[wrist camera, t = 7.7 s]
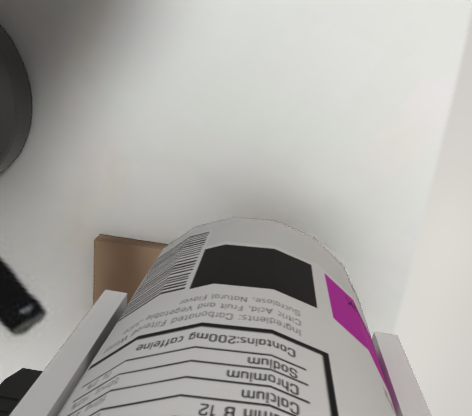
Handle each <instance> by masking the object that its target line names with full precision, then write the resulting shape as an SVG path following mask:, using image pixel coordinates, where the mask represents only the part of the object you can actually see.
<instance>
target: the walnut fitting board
mask: <svg viewBox="0 0 472 416" xmlns="http://www.w3.org/2000/svg"><path fill="white" fill-rule="evenodd" d="M166 246H168V244H161V243H155V242H148V241H141V240H135V239H128V238H122V237H115V236H108V235H102V234H100V235H99V236H98V237H97V238H96V239H95V240H94V292H93V305H94V304H95V303H96V301H97V300H98V299H99V297H100V296H101V295H102V294H103V292H104V291H105V290H111V291H117V292H124V293H127V305H128V303H129V301H130V300H131V298H132V297H133V295H134V293H135V292H136V290H137V289H138V287H139V285H140V284H141V282H142V281H143V279H144V278H145V276H146V274H147V273H148V271H149V270H150V268H151V267H152V265H153V264H154V262H155V261H156V259H157V258H158V256H159V255H160V253H161V252H162V250H163V249H164V248H165V247H166Z"/></svg>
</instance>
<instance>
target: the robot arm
mask: <svg viewBox="0 0 472 416" xmlns="http://www.w3.org/2000/svg"><path fill="white" fill-rule="evenodd" d="M31 114H32V100H31V91H30V85H29V80H28V77H27V73H26V70H25V67H24V64H23V62H22V60H21V57H20V55H19V53H18V51H17V49H16V47H15V46H14V44H13V42H12V41H11V39H10V37H9V36H8V34H7V33H6V32H5V30H4V29H3V28H2V27H1V25H0V173H1V172H3V171H4V170H5V169H6V168H7V167H8V166H10V164H11V163H12V162H13V161H14V160H15V159H16V157H17V156H18V154H19V153H20V151H21V149H22V147H23V146H24V143H25V141H26V138H27V135H28V132H29V128H30V123H31ZM126 306H127V293H124V292H117V291H111V290H105V291H104V292H103V294H102V295H101V296H100V297H99V299H98V300H97V301H96V303H95V304H94V305H93V307H92V308H91V309H90V311H89V312H88V313H87V314H86V316H85V317H84V318H83V320H82V321H81V322H80V324H79V325H78V326H77V328H76V329H75V330H74V332H73V333H72V334H71V335H70V337H69V338H68V339H67V341H66V342H65V343H64V345H63V346H62V347H61V349H60V350H59V351H58V352H57V354H56V355H55V356H54V358H53V359H52V360H51V362H50V363H49V364H48V366H47V367H46V368H45V369H44V371H37V370H31V369H25V368H22V369H21V370H19V371H17V372H16V373H14V374H13V375H11V376H10V377H8V378H6V379H5V380H4V381H3V382H2V383H1V384H0V416H58V415H59V413H60V412H61V410H62V408H63V407H64V405H65V404H66V402H67V400H68V399H69V397H70V396H71V394H72V392H73V391H74V389H75V388H76V386H77V384H78V383H79V381H80V380H81V378H82V376H83V375H84V373H85V372H86V370H87V369H88V367H89V365H90V364H91V362H92V361H93V359H94V357H95V356H96V354H97V353H98V351H99V349H100V348H101V346H102V345H103V343H104V341H105V340H106V338H107V337H108V335H109V333H110V332H111V330H112V329H113V327H114V325H115V324H116V322H117V321H118V319H119V317H120V316H121V314H122V313H123V311H124V309H125V308H126ZM372 342H373V345H374V348H375V351H376V354H377V357H378V360H379V363H380V366H381V369H382V372H383V375H384V378H385V382H386V385H387V388H388V391H389V394H390V397H391V400H392V403H393V406H394V409H395V412H396V415H397V416H431V413H430V411H429V409H428V406H427V404H426V401H425V399H424V397H423V394H422V392H421V390H420V387H419V385H418V383H417V380H416V378H415V376H414V373H413V371H412V368H411V366H410V364H409V362H408V359H407V357H406V354H405V352H404V350H403V348H402V345H401V343H400V340H399V338H398V336H397V335H392V334H386V333H379V332H374V334H373V338H372Z"/></svg>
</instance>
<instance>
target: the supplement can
mask: <svg viewBox="0 0 472 416" xmlns="http://www.w3.org/2000/svg"><path fill="white" fill-rule="evenodd" d="M58 416H397V415H396V412H395V409H394V406H393V403H392V400H391V397H390V394H389V391H388V388H387V385H386V382H385V378H384V375H383V372H382V369H381V366H380V363H379V360H378V357H377V354H376V351H375V348H374V345H373V342H372V339H371V336H370V333H369V330H368V326H367V323H366V320H365V317H364V314H363V311H362V308H361V305H360V302H359V299H358V297H357V294H356V292H355V290H354V288H353V286H352V284H351V282H350V280H349V277H348V275H347V273H346V271H345V269H344V267H343V265H342V264H341V263H340V262H339V261H338V260H337V259H336V258H335V257H334V256H333V255H332V254H331V253H330V252H329V251H327V250H326V249H325V248H324V247H323V246H322V245H321V244H320V243H319V242H318V241H317V240H316V239H315V238H314V237H311V236H309V235H307V234H305V233H302V232H300V231H298V230H296V229H293V228H291V227H289V226H286V225H284V224H282V223H280V222H277V221H273V220H261V219H250V218H238V217H232V218H228V219H224V220H220V221H217V222H213V223H209V224H205V225H201V226H197V227H194V228H193V229H191V230H190V231H188V232H187V233H185V234H184V235H182V236H181V237H180V238H178V239H177V240H175V241H174V242H172V243H171V244H169V245H168V246H166V247H165V248H164V249H163V250H162V252H161V253H160V255H159V256H158V258H157V259H156V261H155V262H154V264H153V265H152V267H151V268H150V270H149V271H148V273H147V274H146V276H145V278H144V279H143V281H142V282H141V284H140V285H139V287H138V289H137V290H136V292H135V293H134V295H133V297H132V298H131V300H130V301H129V303H128V305H127V306H126V308H125V309H124V311H123V313H122V314H121V316H120V317H119V319H118V321H117V322H116V324H115V325H114V327H113V329H112V330H111V332H110V333H109V335H108V337H107V338H106V340H105V341H104V343H103V345H102V346H101V348H100V349H99V351H98V353H97V354H96V356H95V357H94V359H93V361H92V362H91V364H90V365H89V367H88V369H87V370H86V372H85V373H84V375H83V376H82V378H81V380H80V381H79V383H78V384H77V386H76V388H75V389H74V391H73V392H72V394H71V396H70V397H69V399H68V400H67V402H66V404H65V405H64V407H63V408H62V410H61V412H60V413H59V415H58Z"/></svg>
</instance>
